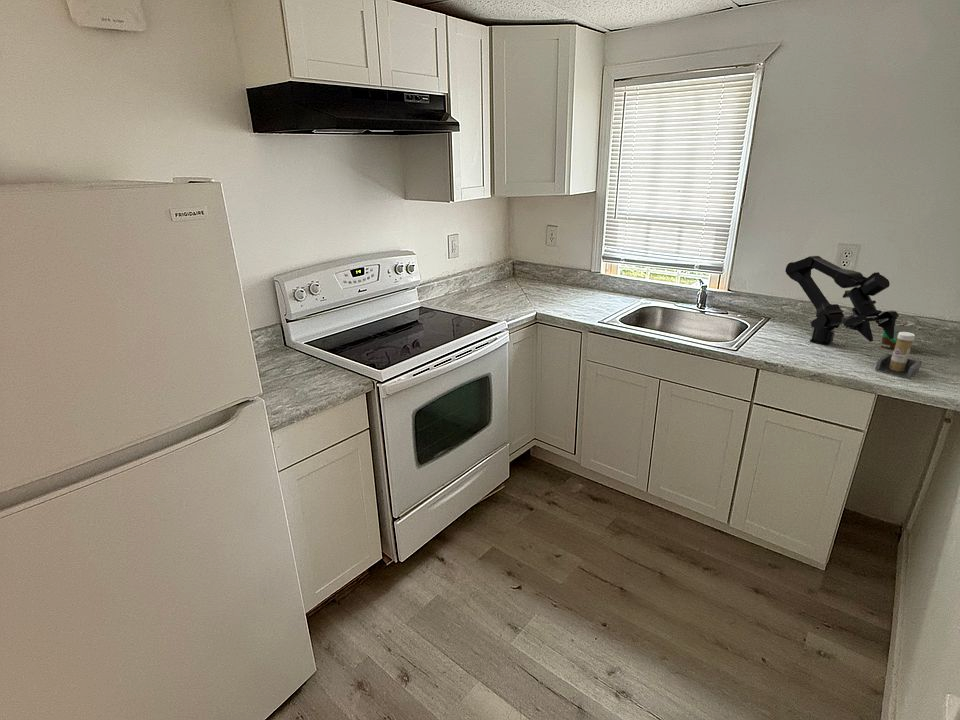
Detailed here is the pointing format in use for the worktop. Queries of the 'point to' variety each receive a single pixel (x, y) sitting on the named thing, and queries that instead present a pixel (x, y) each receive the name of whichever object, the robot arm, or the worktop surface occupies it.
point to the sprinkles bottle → (901, 351)
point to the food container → (896, 334)
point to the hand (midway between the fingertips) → (881, 340)
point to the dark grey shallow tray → (909, 372)
